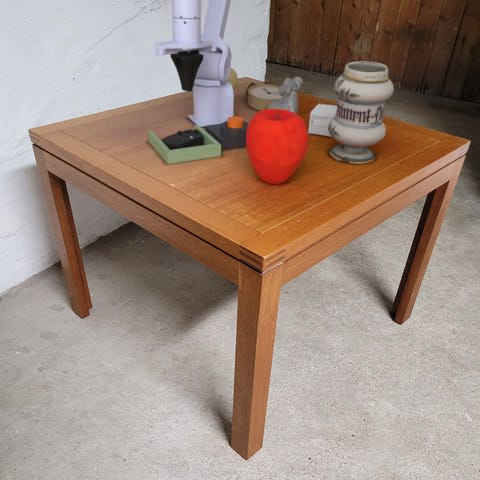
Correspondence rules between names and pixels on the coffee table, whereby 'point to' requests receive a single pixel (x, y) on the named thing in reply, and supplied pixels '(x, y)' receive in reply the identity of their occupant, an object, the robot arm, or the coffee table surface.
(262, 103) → the alarm clock
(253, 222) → the coffee table surface
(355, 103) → the apothecary jar
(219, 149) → the dock
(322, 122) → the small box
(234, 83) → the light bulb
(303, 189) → the coffee table surface
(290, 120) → the apple
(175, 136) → the game controller
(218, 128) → the push button box
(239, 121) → the button
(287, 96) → the figurine
